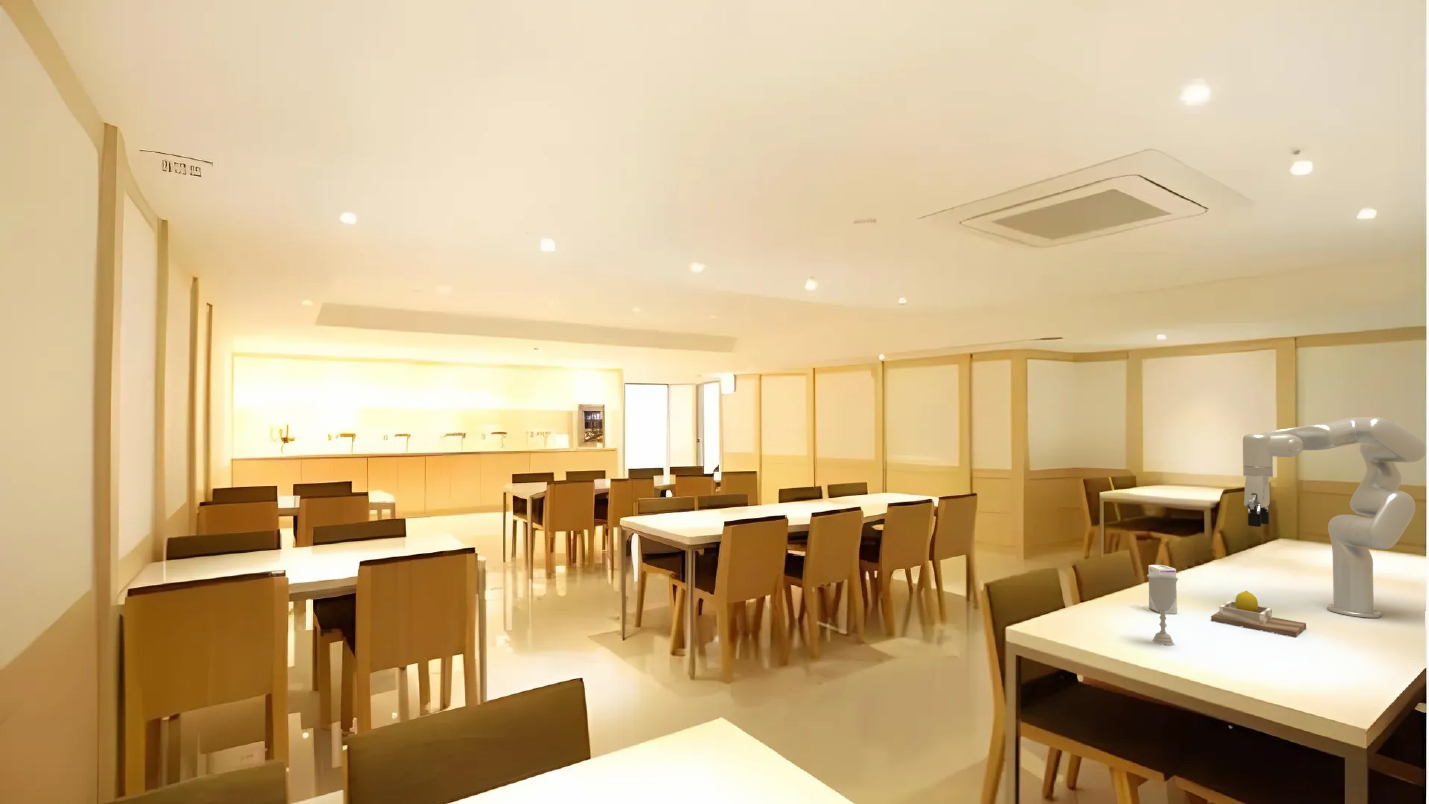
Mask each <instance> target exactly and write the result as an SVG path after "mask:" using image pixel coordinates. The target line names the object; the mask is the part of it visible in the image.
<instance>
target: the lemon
mask: <svg viewBox="0 0 1429 804" xmlns="http://www.w3.org/2000/svg"><path fill="white" fill-rule="evenodd" d="M1234 602H1235V605H1236V608H1237V609H1239V610H1245V611H1250V612H1257V610H1258V606H1259V603H1258V599H1257V598H1256V596H1255V595H1254V594H1253V593H1251V592H1249V591H1248V590H1245V591H1241V592H1239V593H1238V594H1237V595H1236V596H1235V601H1234Z"/></svg>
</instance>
